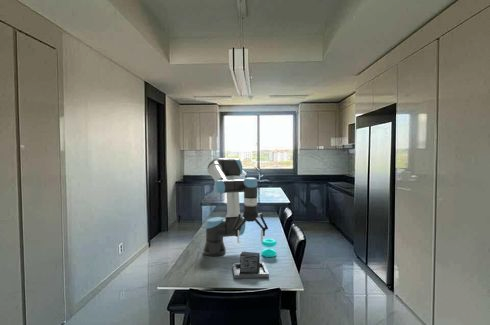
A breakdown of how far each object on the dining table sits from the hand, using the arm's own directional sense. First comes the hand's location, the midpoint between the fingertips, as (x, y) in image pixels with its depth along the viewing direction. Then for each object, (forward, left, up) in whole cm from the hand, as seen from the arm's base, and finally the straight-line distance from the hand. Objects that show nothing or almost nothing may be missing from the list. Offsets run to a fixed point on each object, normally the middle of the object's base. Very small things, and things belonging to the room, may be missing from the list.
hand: (250, 241), depth 184 cm
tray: (0, 0, -18) cm, 18 cm away
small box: (0, 0, -18) cm, 18 cm away
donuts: (+16, +28, -18) cm, 37 cm away
